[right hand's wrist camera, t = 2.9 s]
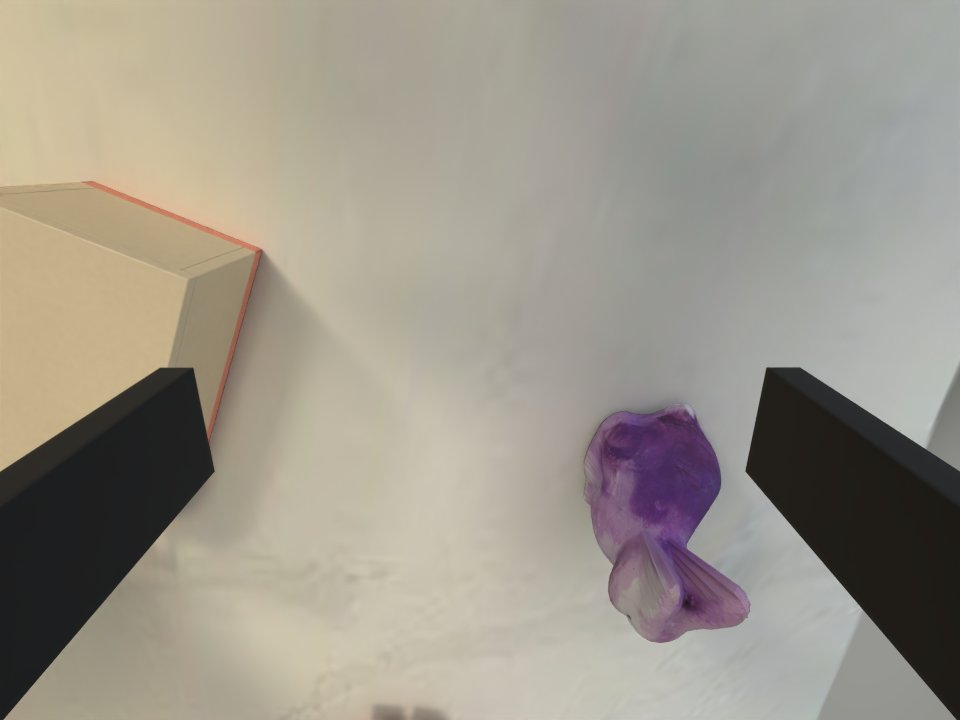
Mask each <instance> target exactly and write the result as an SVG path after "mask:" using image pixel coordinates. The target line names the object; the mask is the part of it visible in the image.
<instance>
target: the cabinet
mask: <svg viewBox="0 0 960 720" xmlns="http://www.w3.org/2000/svg"><path fill="white" fill-rule="evenodd" d="M261 252H262V249H259V248H257V247H254V246H252V245H249V244H247V243H244V242H242V241H239V240H237V239H234V238H232V237H229V236H227V235H224V234H222V233H219V232H217V231H214V230H212V229H209V228H207V227H204V226H202V225H199V224H197V223H194V222H192V221H189V220H187V219H184V218H182V217H179V216H177V215H174V214H172V213H169V212H167V211H165V210H162V209H160V208H157V207H155V206H152V205H150V204H147V203H145V202H142V201H140V200H137V199H135V198H132V197H130V196H127V195H125V194H122V193H120V192H117V191H115V190H112V189H110V188H107V187H105V186H102V185H100V184H97V183H95V182H92V181H90V182H81V183H63V184H44V185H26V186H8V187H0V471H2V470H3V469H5V468H6V467H8V466H9V465H11V464H13V463H14V462H16V461H17V460H19V459H20V458H22V457H23V456H25V455H26V454H28V453H29V452H31V451H32V450H34V449H36V448H37V447H39V446H40V445H42V444H43V443H45V442H46V441H48V440H49V439H51V438H52V437H54V436H56V435H57V434H59V433H60V432H62V431H63V430H65V429H66V428H68V427H69V426H71V425H72V424H74V423H76V422H77V421H79V420H80V419H82V418H83V417H85V416H86V415H88V414H89V413H91V412H92V411H94V410H96V409H97V408H99V407H100V406H102V405H103V404H105V403H106V402H108V401H109V400H111V399H112V398H114V397H115V396H117V395H119V394H120V393H122V392H123V391H125V390H126V389H128V388H129V387H131V386H132V385H134V384H135V383H137V382H139V381H140V380H142V379H143V378H145V377H146V376H148V375H149V374H151V373H152V372H154V371H155V370H157V369H159V368H194V373H195V378H196V382H197V387H198V392H199V397H200V402H201V407H202V412H203V417H204V422H205V427H206V432H207V436H208V441H209V440H210V436H211V433H212V429H213V425H214V422H215V418H216V415H217V411H218V407H219V404H220V400H221V396H222V393H223V389H224V386H225V382H226V378H227V375H228V371H229V368H230V364H231V360H232V357H233V353H234V349H235V346H236V342H237V339H238V335H239V331H240V328H241V324H242V320H243V317H244V313H245V310H246V306H247V302H248V299H249V295H250V292H251V288H252V284H253V281H254V277H255V273H256V270H257V266H258V263H259V259H260V255H261Z"/></svg>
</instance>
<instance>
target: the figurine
mask: <svg viewBox="0 0 960 720" xmlns="http://www.w3.org/2000/svg"><path fill="white" fill-rule="evenodd" d="M584 471H585V475H586V477H587V479H586V485H585V489H584V498H585V501H586V502H587V503H588V504H590V505H591V517H592V523H593V529H594V533H595V536H596V539H597V542H598V545H599V546H600V548H601V550H602V552H603V553H604V554H605V556H606V557H607V558H608V559H609V561H610V562H611V563H612V564H613V565H614V566H613V569H612V572H611V574H610V577H609V585H608V592H609V597H610V601H611V602H612V604H613V606H614V607H615V608H616V609H617V610H618V611H619V612H621V613H622V614H624V615H626V616H627V618H628V620H629V622H630V623H631V625H632V626H633V627H634V628H635V630H636V631H637V632H638V633H639V634H640V635H641V636H642V637H644V638H645V639H647V640H649V641H652V642H658V643H664V642H670V641H673V640H675V639H677V638H679V637H680V636H681V635H682V634H684V633H685V632H687V631H691V630H697V629H720V628H728V627H733V626H737V625H739V624H740V623H742V622H743V621H744V619H745V618H748V614H749V612H750V602H749V600H748V598H747V596H746V594H745V592H744V591H743V590H742V589H741V587H739V586H738V585H737V584H735V583H734V582H732V581H731V580H730V579H728V578H727V577H725V576H724V575H723V574H721V573H720V572H718V571H717V570H716V569H714V568H713V567H711V566H710V565H709V564H707V563H706V562H704V561H703V560H702V559H700V558H699V557H697V556H696V555H695V554H693V553H692V552H690V551H689V550H688V549H687V547H686V545H687V543H688V541H689V539H690V538H691V536H692V534H693V533H694V531H695V529H696V528H697V526H698V525H699V523H700V522H701V520H702V519H703V517H704V516H705V514H706V513H707V511H708V510H709V508H710V506H711V505H712V503H713V502H714V500H715V499H716V497H717V495H718V493H719V491H720V488H721V475H720V468H719V464H718V460H717V457H716V454H715V452H714V450H713V448H712V446H711V444H710V443H709V441H708V440H707V438H706V437H705V435H704V434H703V432H702V430H701V428H700V426H699V424H698V421H697V418H696V415H695V412H694V411H693V410H692V408H691V407H690V406H689V405H687V404H682V403H681V404H674V405H671V406H669V407H667V408H665V409H663V410H660V411H658V412H656V413H653V414H645V415H642V414H632V413H630V412H617V413H615V414H613V415H611V416H610V417H608V418H607V419H606V420H605V421H604V422H603V423H602V424H601V426H600V427H599V429H598V431H597V433H596V435H595V437H594V439H593V440H592V442H591V444H590V446H589V448H588V451H587V454H586V457H585V460H584Z"/></svg>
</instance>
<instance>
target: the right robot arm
mask: <svg viewBox="0 0 960 720" xmlns="http://www.w3.org/2000/svg"><path fill="white" fill-rule="evenodd" d="M213 473H214V466H213V461H212V456H211V451H210V446H209V441H208V436H207V432H206V427H205V422H204V417H203V412H202V407H201V402H200V397H199V392H198V387H197V382H196V378H195V373H194V368H159V369H157V370H155V371H154V372H152V373H151V374H149V375H148V376H146V377H145V378H143V379H142V380H140V381H139V382H137V383H135V384H134V385H132V386H131V387H129V388H128V389H126V390H125V391H123V392H122V393H120V394H119V395H117V396H115V397H114V398H112V399H111V400H109V401H108V402H106V403H105V404H103V405H102V406H100V407H99V408H97V409H96V410H94V411H92V412H91V413H89V414H88V415H86V416H85V417H83V418H82V419H80V420H79V421H77V422H76V423H74V424H72V425H71V426H69V427H68V428H66V429H65V430H63V431H62V432H60V433H59V434H57V435H56V436H54V437H52V438H51V439H49V440H48V441H46V442H45V443H43V444H42V445H40V446H39V447H37V448H36V449H34V450H32V451H31V452H29V453H28V454H26V455H25V456H23V457H22V458H20V459H19V460H17V461H16V462H14V463H13V464H11V465H9V466H8V467H6V468H5V469H3V470H2V471H0V720H3V719H4V718H5V717H6V716H7V715H8V714H9V712H10V711H11V710H12V709H13V708H14V707H15V705H16V704H17V703H18V702H19V701H20V699H21V698H22V697H23V696H24V695H25V694H26V692H27V691H28V690H29V689H30V688H31V687H32V685H33V684H34V683H35V682H36V681H37V679H38V678H39V677H40V676H41V675H42V674H43V672H44V671H45V670H46V669H47V668H48V667H49V665H50V664H51V663H52V662H53V661H54V660H55V658H56V657H57V656H58V655H59V654H60V652H61V651H62V650H63V649H64V648H65V647H66V645H67V644H68V643H69V642H70V641H71V640H72V638H73V637H74V636H75V635H76V634H77V632H78V631H79V630H80V629H81V628H82V627H83V625H84V624H85V623H86V622H87V621H88V620H89V618H90V617H91V616H92V615H93V614H94V612H95V611H96V610H97V609H98V608H99V607H100V605H101V604H102V603H103V602H104V601H105V600H106V598H107V597H108V596H109V595H110V594H111V592H112V591H113V590H114V589H115V588H116V587H117V585H118V584H119V583H120V582H121V581H122V580H123V578H124V577H125V576H126V575H127V574H128V573H129V571H130V570H131V569H132V568H133V567H134V565H135V564H136V563H137V562H138V561H139V560H140V558H141V557H142V556H143V555H144V554H145V553H146V551H147V550H148V549H149V548H150V547H151V545H152V544H153V543H154V542H155V541H156V540H157V538H158V537H159V536H160V535H161V534H162V533H163V531H164V530H165V529H166V528H167V527H168V525H169V524H170V523H171V522H172V521H173V520H174V518H175V517H176V516H177V515H178V514H179V513H180V511H181V510H182V509H183V508H184V507H185V506H186V504H187V503H188V502H189V501H190V500H191V498H192V497H193V496H194V495H195V494H196V493H197V491H198V490H199V489H200V488H201V487H202V486H203V484H204V483H205V482H206V481H207V480H208V478H209V477H210V476H211V475H212V474H213ZM746 473H747V474H748V475H749V476H750V477H751V478H752V480H753V481H754V482H755V483H756V484H757V486H758V487H759V488H760V489H761V490H762V491H763V493H764V494H765V495H766V496H767V497H768V498H769V500H770V501H771V502H772V503H773V504H774V506H775V507H776V508H777V509H778V510H779V511H780V513H781V514H782V515H783V516H784V517H785V518H786V520H787V521H788V522H789V523H790V524H791V525H792V527H793V528H794V529H795V530H796V531H797V533H798V534H799V535H800V536H801V537H802V538H803V540H804V541H805V542H806V543H807V544H808V545H809V547H810V548H811V549H812V550H813V551H814V553H815V554H816V555H817V556H818V557H819V558H820V560H821V561H822V562H823V563H824V564H825V565H826V567H827V568H828V569H829V570H830V571H831V573H832V574H833V575H834V576H835V577H836V578H837V580H838V581H839V582H840V583H841V584H842V585H843V587H844V588H845V589H846V590H847V591H848V593H849V594H850V595H851V596H852V597H853V598H854V600H855V601H856V602H857V603H858V604H859V605H860V607H861V608H862V609H863V610H864V611H865V612H866V614H867V615H868V616H869V617H870V618H871V620H872V621H873V622H874V623H875V624H876V625H877V626H878V628H879V629H880V630H881V631H882V632H883V634H884V635H885V636H886V637H887V638H888V639H889V641H890V642H891V643H892V644H893V645H894V647H895V648H896V649H897V650H898V651H899V652H900V654H901V655H902V656H903V657H904V658H905V659H906V661H907V662H908V663H909V664H910V665H911V667H912V668H913V669H914V670H915V671H916V672H917V674H918V675H919V676H920V677H921V678H922V679H923V681H924V682H925V683H926V684H927V685H928V687H929V688H930V689H931V690H932V691H933V692H934V694H935V695H936V696H937V697H938V698H939V699H940V701H941V702H942V703H943V704H944V705H945V707H946V708H947V709H948V710H949V711H950V712H951V714H952V715H953V716H954V717H955V718H956V719H957V720H960V471H958V470H957V469H955V468H954V467H952V466H951V465H949V464H947V463H946V462H944V461H943V460H941V459H940V458H938V457H937V456H935V455H934V454H932V453H931V452H929V451H927V450H926V449H924V448H923V447H921V446H920V445H918V444H917V443H915V442H914V441H912V440H911V439H909V438H908V437H906V436H904V435H903V434H901V433H900V432H898V431H897V430H895V429H894V428H892V427H891V426H889V425H888V424H886V423H884V422H883V421H881V420H880V419H878V418H877V417H875V416H874V415H872V414H871V413H869V412H868V411H866V410H864V409H863V408H861V407H860V406H858V405H857V404H855V403H854V402H852V401H851V400H849V399H848V398H846V397H845V396H843V395H841V394H840V393H838V392H837V391H835V390H834V389H832V388H831V387H829V386H828V385H826V384H825V383H823V382H821V381H820V380H818V379H817V378H815V377H814V376H812V375H811V374H809V373H808V372H806V371H805V370H803V369H801V368H766V373H765V378H764V382H763V387H762V392H761V397H760V402H759V407H758V412H757V417H756V422H755V427H754V432H753V436H752V441H751V446H750V451H749V456H748V461H747V466H746Z"/></svg>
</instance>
